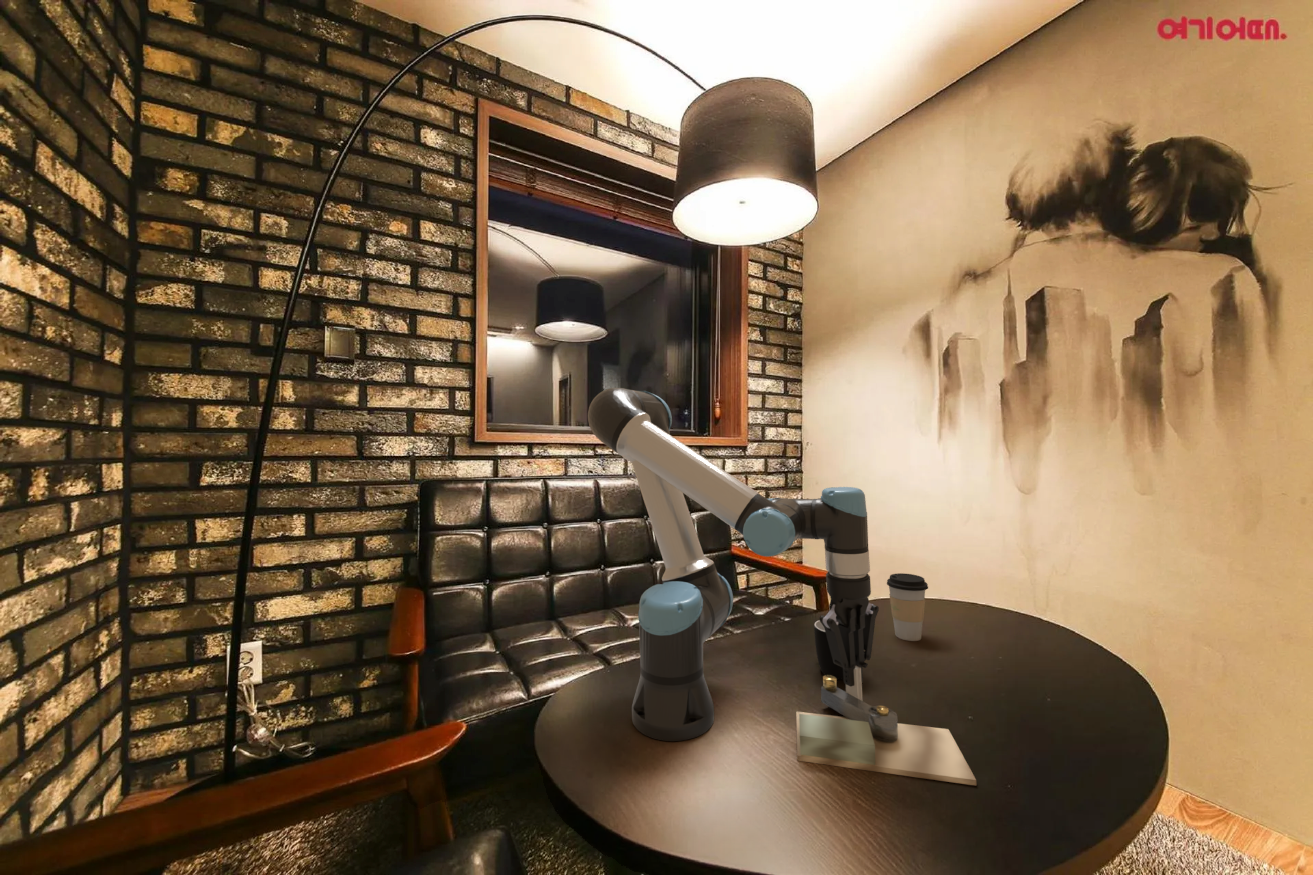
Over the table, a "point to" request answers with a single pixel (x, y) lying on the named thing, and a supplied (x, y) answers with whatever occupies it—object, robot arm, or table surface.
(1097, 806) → the table surface
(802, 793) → the table surface
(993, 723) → the table surface
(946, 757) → the board
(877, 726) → the latch bar
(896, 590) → the coffee cup
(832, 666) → the mug
